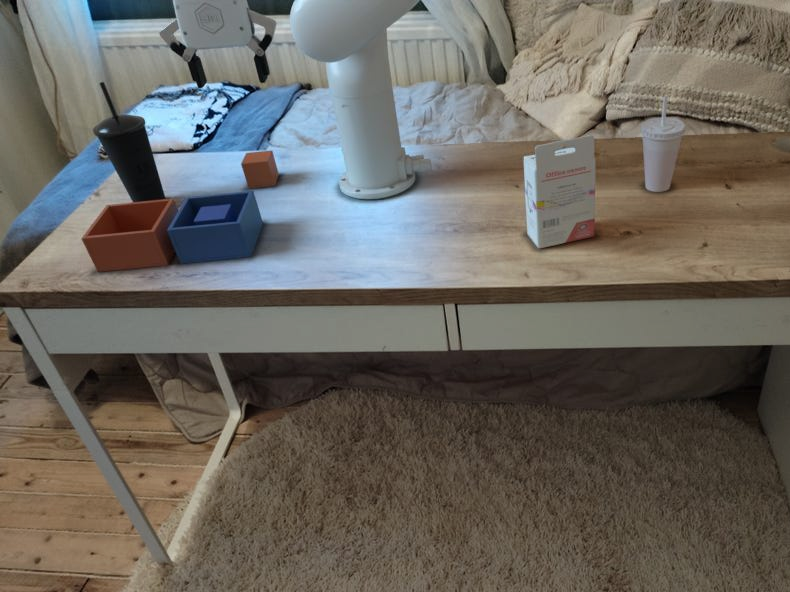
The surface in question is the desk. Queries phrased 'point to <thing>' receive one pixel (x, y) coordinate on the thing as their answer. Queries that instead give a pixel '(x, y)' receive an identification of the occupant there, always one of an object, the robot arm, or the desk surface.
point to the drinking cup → (130, 153)
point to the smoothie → (661, 149)
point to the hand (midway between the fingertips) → (233, 82)
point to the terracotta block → (260, 169)
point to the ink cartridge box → (560, 191)
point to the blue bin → (216, 229)
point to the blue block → (215, 215)
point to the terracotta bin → (131, 235)
